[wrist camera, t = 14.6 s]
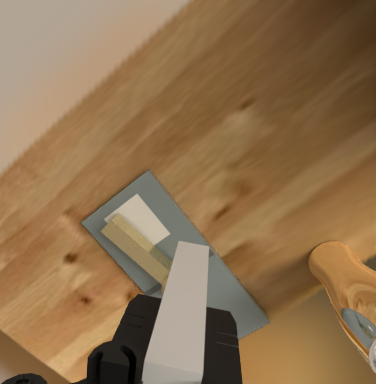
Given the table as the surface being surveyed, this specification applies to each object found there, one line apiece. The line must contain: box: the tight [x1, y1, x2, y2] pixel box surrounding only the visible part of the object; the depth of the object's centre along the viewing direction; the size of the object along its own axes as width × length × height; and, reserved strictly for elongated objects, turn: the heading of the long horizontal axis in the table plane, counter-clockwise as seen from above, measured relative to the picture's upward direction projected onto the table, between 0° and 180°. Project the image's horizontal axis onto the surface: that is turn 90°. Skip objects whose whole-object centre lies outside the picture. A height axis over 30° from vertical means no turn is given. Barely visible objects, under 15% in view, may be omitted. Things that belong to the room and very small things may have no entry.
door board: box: [81, 170, 270, 340], centre depth 38 cm, size 12×28×1 cm, turn 38°
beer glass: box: [308, 241, 376, 373], centre depth 29 cm, size 7×7×15 cm
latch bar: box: [101, 213, 173, 294], centre depth 34 cm, size 4×14×4 cm, turn 46°
